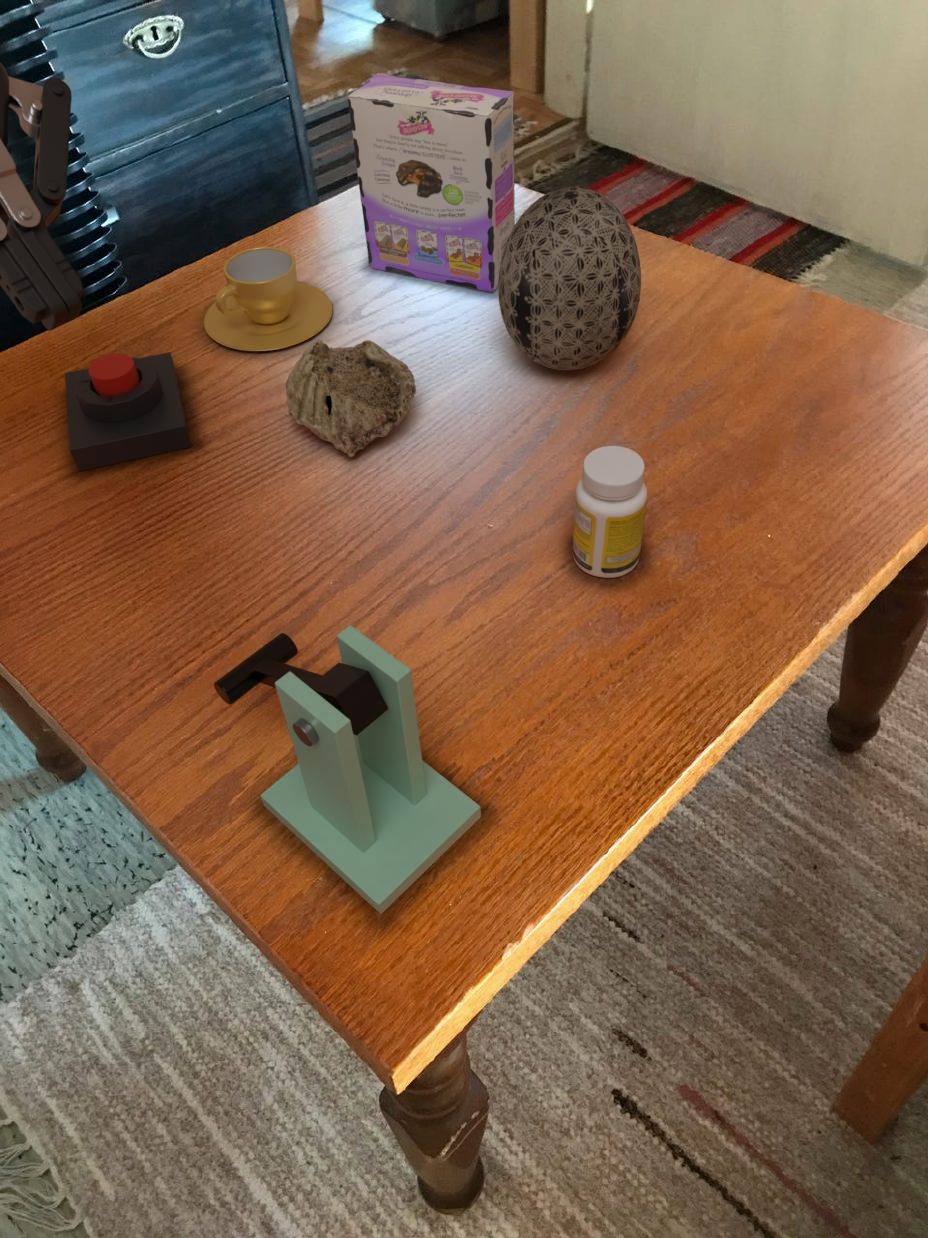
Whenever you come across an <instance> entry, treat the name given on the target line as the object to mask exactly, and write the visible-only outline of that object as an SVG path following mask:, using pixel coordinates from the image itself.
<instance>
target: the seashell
mask: <svg viewBox="0 0 928 1238" xmlns="http://www.w3.org/2000/svg"><path fill="white" fill-rule="evenodd" d="M415 382H416V381H415V376H414V373H413V372H412V370H411V369H410V368H409V366H408V365H407V364H406V363H405V362H403V361H402V360H400V359H398V358H396V357H395V356H393V355H391V354H390V353H389V352H388V351H387V350H386V349H384V348H382V347H381V346H380V345H379V344H377V343H375V342H373V341H372V340H370V339H368V340H367V339H366V340H363V341H362V342H360V343H358V344H355V346H345V347H340V346H339V347H335V348H334V347H332V346H330V347H329V346H328V344H327V343H324V342H323V340H322V339H317V340H316V341H315V342H313V344H311V345H310V346H308V347H307V349H306V350H305V351H304V352H303V354H302V355H301V357H300V358H299V359H298V360H297V361H296V363H295V364H294V366H293V368H292V369H291V371H290V372H289V374H288V376H287V379H286V381H285V389H286V391H285V395H286V397H287V403H288V404H287V408H288V413H289V414H290V416H292V417H294V419H295V423H296V424H297V425H301V426H304V427H305V428H307V429H308V430H309V431H310V432H311V433H312V434H314V435H316V436H317V437H318V438H319V439H320V440H322V441H326V442H329V443H331V444H332V446H333V447H334V448H335V449H336V450H339V451H341V452H343V453H344V454H347V456H348V457H349V458H353V457H355V456H356V453H357V452H358V451H359V450H363V449H365V448H366V447H367V445H369V444H370V443H372V442H373V440H375V439H376V438H385V437H386V436H387V435H389V432H390V431H391V430H392V429H393V428H394V426H396V427H398V426H399V425H401V423H402V421H403V419H404V417H405V415H406V414H408V413H409V412H410V410H411V401H412V399H414V398H415V394H416V393H417V386H416V384H415Z"/></svg>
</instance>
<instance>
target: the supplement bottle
mask: <svg viewBox="0 0 928 1238" xmlns="http://www.w3.org/2000/svg"><path fill="white" fill-rule="evenodd" d="M644 480H645V462H644V460H643V458H642V456H640V454H639V453H638V452H637V451H634V450H633V449H631V448H628V447H626V446H620V445H606V446H605V445H604V446H601V447H598V448H597V447H596V448H595V449H593V450H591V451H590V452H589V453H588V454H587V455H586V456H585V458H584V459H583V463H582V472H581V478H580V479H579V481H578V483H577V485H576V488H575V497H574V515H573V516H574V517H573V533H572V534H573V535H572V557H573V560H574V562H575V564H576V565H577V567H578V568H579V569H581V570H582V571H583V572H584V573H585V574H588V575H590V576H594V577H597V578H603V579H604V578H605V579H613V578H614V579H615V578H619V577H622V576H625V575H627V574H629V573H631V572H632V571H633V570H634V569H635V568H636V566H637V564H638V563H639V561H640V556H641V552H642V551H641V549H642V542H643V535H644V527H645V520H646V519H645V518H646V509H647V503H648V502H647V501H648V490H647V485H646V484H645V482H644Z"/></svg>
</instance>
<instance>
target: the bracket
mask: <svg viewBox="0 0 928 1238" xmlns="http://www.w3.org/2000/svg"><path fill="white" fill-rule="evenodd" d="M336 640H337V645H338V649H339V654H340V659H341V663H343V664H346V665H350V666H353V667H357V668H361V669H364V670H368V671H369V673H370V675H371V676H372V678H373V680H374V682H375V684H376V686H377V688H378V689H379V691H380V693H381V695H382V697H383V699H384V700H385V702H386V704H387V706H388V708H389V709H388V710H387V711H386V712H384V713H383V714H382V715H381V716H380V717H378V718H377V719H376V720H375V721H374V722H373V723H371V724H370V725H369V726H368V727H367V728H365V729H364V730H363V731H362V732H361V733H359V734H358V735H357V736H356V735H353V731H352V726H351V721H350V719H348V718H347V717H346V716H345V715H343V714H342V713H341V712H340V711H338V710H337V709H336V708H335V707H333V706H332V705H331V704H330V703H329V702H327V701H326V700H325V699H324V698H322V697H321V696H320V695H319V694H317V693H316V692H315V691H314V690H312V689H311V688H310V687H309V686H308V685H306V684H305V683H304V682H303V681H301V680H300V679H299V678H298V677H296V676H295V675H294V674H293V673H291V672H288V673H287V674H286V675H284V676H283V677H282V678H280V679H279V680H278V681H276V682H275V686H276V688H275V689H276V693H277V696H278V699H279V703H280V706H281V709H282V713H283V716H284V718H285V723H286V725H287V729H288V733H289V736H290V739H291V743H292V746H293V751H294V753H295V757H296V760H297V764H296V765H295V766H293V767H292V768H291V769H290V770H288V771H287V772H286V773H285V774H284V775H283V776H281V777H280V778H279V779H278V780H276V781H275V782H274V783H273V784H271V786H270V787H268V788H267V789H266V790H264V791H263V792H262V793H261V794H260V795H259V796H260V799H261V802H262V805H263V807H264V808H265V809H266V810H268V812H269V813H271V814H272V815H273V816H274V817H275V818H276V819H277V820H278V821H279V822H281V824H283V826H285V827H286V829H288V830H289V831H290V832H291V833H292V834H293V835H294V836H295V837H297V838H298V839H299V840H300V841H301V842H302V843H303V844H304V845H305V846H306V847H307V848H308V849H310V850H311V851H312V852H313V853H314V854H315V855H316V856H317V857H318V858H319V859H320V860H322V862H324V864H326V865H327V866H328V867H329V868H330V869H331V870H332V871H333V872H334V873H335V874H336V875H338V876H339V877H340V878H341V879H342V880H343V881H344V882H345V883H346V884H347V885H348V886H349V887H350V888H352V889H353V890H354V891H355V892H356V893H357V894H358V895H359V896H360V897H361V898H363V900H365V902H367V903H368V904H369V905H370V906H371V907H372V908H373V909H374V910H375V911H377V912H378V914H380V915H383V913H384V912H385V911H386V910H387V909H388V908H389V907H390V906H391V905H393V903H394V902H396V900H398V899H399V897H401V896H402V895H403V894H404V893H405V892H406V891H407V890H408V889H409V888H410V887H411V886H412V885H413V884H415V882H416V881H417V880H418V879H419V878H420V877H421V876H422V875H423V874H425V872H427V870H429V868H430V867H432V865H433V864H434V863H436V862H437V861H438V860H439V859H440V858H441V857H442V856H443V855H444V854H445V853H446V852H447V851H448V850H449V849H450V848H452V846H453V845H454V844H455V843H456V842H457V841H458V840H459V839H461V838H462V836H463V835H465V833H466V832H467V831H468V830H470V829H471V828H472V826H473V825H475V824H476V823H477V822H478V821H480V819H481V818H482V809H481V808H482V807H481V806H480V805H479V804H478V803H477V802H476V801H474V800H473V799H472V798H471V797H470V796H468V795H467V794H465V793H464V792H463V791H462V790H460V788H458V787H457V786H455V785H454V784H453V783H452V782H451V781H449V780H448V779H447V778H446V777H444V776H443V775H442V774H440V773H439V772H438V771H437V770H435V768H433V767H432V766H431V765H429V764H428V763H427V762H426V761H424V760H423V754H422V747H421V739H420V730H419V724H418V723H419V722H418V715H417V706H416V699H415V691H414V683H413V676H412V669H411V668H410V667H408V666H407V665H405V664H404V663H403V662H401V661H400V660H399V659H397V658H396V657H395V656H394V655H392V654H391V653H389V652H388V651H387V650H386V649H384V648H383V647H382V646H381V645H379V644H377V643H376V642H374V640H372V639H371V638H370V637H368V636H367V635H365V634H364V633H362V632H361V631H360V630H358V629H357V628H356V627H355V626H353V625H352V624H350V625H348V626H347V627H346V628H344V629H342V630H341V632H339V633H338V634H336Z"/></svg>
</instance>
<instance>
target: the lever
mask: <svg viewBox="0 0 928 1238" xmlns="http://www.w3.org/2000/svg"><path fill="white" fill-rule="evenodd" d="M298 654H299V649H298V647H297V645H296V643H295V642H294V641H293V639H292V638H291V636H289V635H288V634H286V633H284V632H281V633H279V634H278V635H276V636H275V637H273V638H272V639H271V640H270V641H268V642H267V643H266V644H264V645H263V646H262V647H260V648H259V649H258V650H256V651H255V652H254V653H252V654H250V656H248V657H247V658H245V659H244V660H243V661H241V662H240V663H238V664H237V665H236V666H235V667H234V668H232V669H231V670H229V671H228V672H226V673H225V674H224V675H222V676H221V677H220V678H219V679H217V680H216V681H214V683H213V687H214V691H216V693H217V695H218V696H219V698H221V699H222V701H223V702H225V703H226V704H227V705H233V704H234V703H236V702H237V701H238V700H239V699H241V698H242V697H244V696H245V695H246V694H247V693H249V692H250V691H252V690H253V689H254V688H255V687H256V686H258V685H259V684H263V685H265V686H268V687H271V688H273V689H276V686H275V682H276V681H278V680H279V679H280V678H282V677H283V676H284V675H286V674H287V673H288V672H291V673H293V674H294V675H295V676H296V677H298V678H299V679H300V680H301V681H303V682H304V683H305V684H306V685H308V686H309V687H310V688H311V689H312V690H314V691H315V692H316V693H317V694H319V695H320V696H321V697H322V698H324V699H325V700H326V701H327V702H329V703H330V704H331V705H332V706H333V707H335V708H336V709H337V710H338V711H340V712H341V713H342V714H343V715H345V716H346V717H347V718H348V719H350V721H351V726H352V731H353V735H356V736H357V735H358V734H359V733H361V732H362V731H363V730H364V729H365V728H367V727H368V726H369V725H370V724H371V723H373V722H374V721H375V720H376V719H377V718H378V717H380V716H381V715H382V714H383V713H384V712H386V711H387V710H388V709H389V708H388V706H387V704H386V702H385V700H384V699H383V697H382V695H381V693H380V691H379V689H378V688H377V686H376V684H375V682H374V680H373V678H372V676H371V675H370V673H369V671H368V670H364V669H361V668H357V667H353V666H350V665H346V664H343V663H342V662H337V663H336V664H334V665H333V666H332V667H331V668H330V669H329V670H327V671H326V672H325V673H323V674H319V673H316V672H313V671H309V670H307V669H304V668H300V667H298V666H297V667H296V666H293V665H290V664H288V662H290V660H292V659H293V658H295V657H296V656H297V655H298Z"/></svg>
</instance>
